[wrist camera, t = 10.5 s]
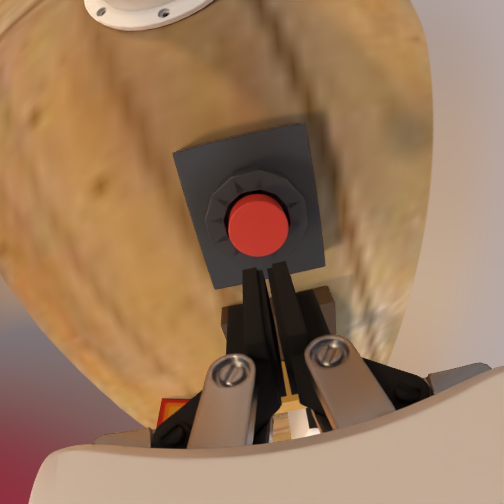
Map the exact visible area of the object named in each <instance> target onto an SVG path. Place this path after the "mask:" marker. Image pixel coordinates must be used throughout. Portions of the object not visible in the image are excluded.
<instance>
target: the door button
mask: <svg viewBox="0 0 504 504" xmlns="http://www.w3.org/2000/svg"><path fill="white" fill-rule="evenodd" d="M288 229H289V226H288V221H287V218H286V215H285V213H284V211H283V209H282V207H281V206H280V204H279V203H278V202H277V201H276V200H275V199H273V198H272V197H270V196H268V195H264V194H250V195H247V196H245V197H243V198H241V199H240V200H239V201H237V202H236V203H235V205H234V206H233V208H232V210H231V212H230V216H229V226H228V233H229V237H230V240H231V242H232V243H233V245H234V246H235V247H236V248H237V249H238V250H239V251H241V252H242V253H244V254H246V255H249V256H255V257H261V256H266V255H269V254H272V253H273V252H275V251H277V250H278V249H279V248H280V247H281V246H282V245H283V243H284V242H285V240H286V238H287V235H288Z"/></svg>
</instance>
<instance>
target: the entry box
mask: <svg viewBox="0 0 504 504" xmlns="http://www.w3.org/2000/svg"><path fill="white" fill-rule="evenodd" d="M173 158H174V161H175V165H176V168H177V172H178V175H179V179H180V182H181V186H182V189H183V192H184V196H185V199H186V202H187V206H188V209H189V212H190V216H191V219H192V222H193V225H194V228H195V232H196V235H197V238H198V241H199V244H200V247H201V250H202V253H203V256H204V259H205V262H206V265H207V268H208V271H209V274H210V277H211V280H212V283H213V286H214V289H221V288H226V287H231V286H236V285H241V284H243V283H242V270H245V269H249V268H254V267H256V268H257V271H258V270H263V274H264V278H265V279H269V277H268V272H267V268H272V264H273V263H278V262H282V261H286V264H287V267H288V270H289V273H290V274H293V273H297V272H302V271H306V270H311V269H315V268H320V267H324V266H325V256H324V247H323V237H322V229H321V221H320V213H319V205H318V198H317V191H316V184H315V178H314V171H313V165H312V159H311V153H310V148H309V142H308V137H307V131H306V126H305V124H302V123H297V124H290V125H284V126H279V127H273V128H268V129H263V130H258V131H253V132H248V133H243V134H239V135H234V136H230V137H226V138H222V139H218V140H214V141H210V142H206V143H202V144H198V145H195V146H191V147H188V148H184V149H181V150H178V151H176V152H174V153H173ZM250 194H264V195H268V196H270V197H272V198H273V199H275V200H276V201H277V202H278V203H279V204H280V206H281V207H282V209H283V211H284V213H285V215H286V218H287V221H288V226H289V229H288V235H287V238H286V240H285V242H284V243H283V245H282V246H281V247H280V248H279V249H278V250H277V251H275V252H273V253H272V254H269V255H266V256H261V257H255V256H249V255H246V254H244V253H242V252H241V251H239V250H238V249H237V248H236V247H235V246H234V245H233V243H232V242H231V240H230V237H229V233H228V226H229V216H230V212H231V210H232V208H233V206H234V205H235V203H236V202H237V201H239V200H240V199H241V198H243V197H245V196H247V195H250Z"/></svg>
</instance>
